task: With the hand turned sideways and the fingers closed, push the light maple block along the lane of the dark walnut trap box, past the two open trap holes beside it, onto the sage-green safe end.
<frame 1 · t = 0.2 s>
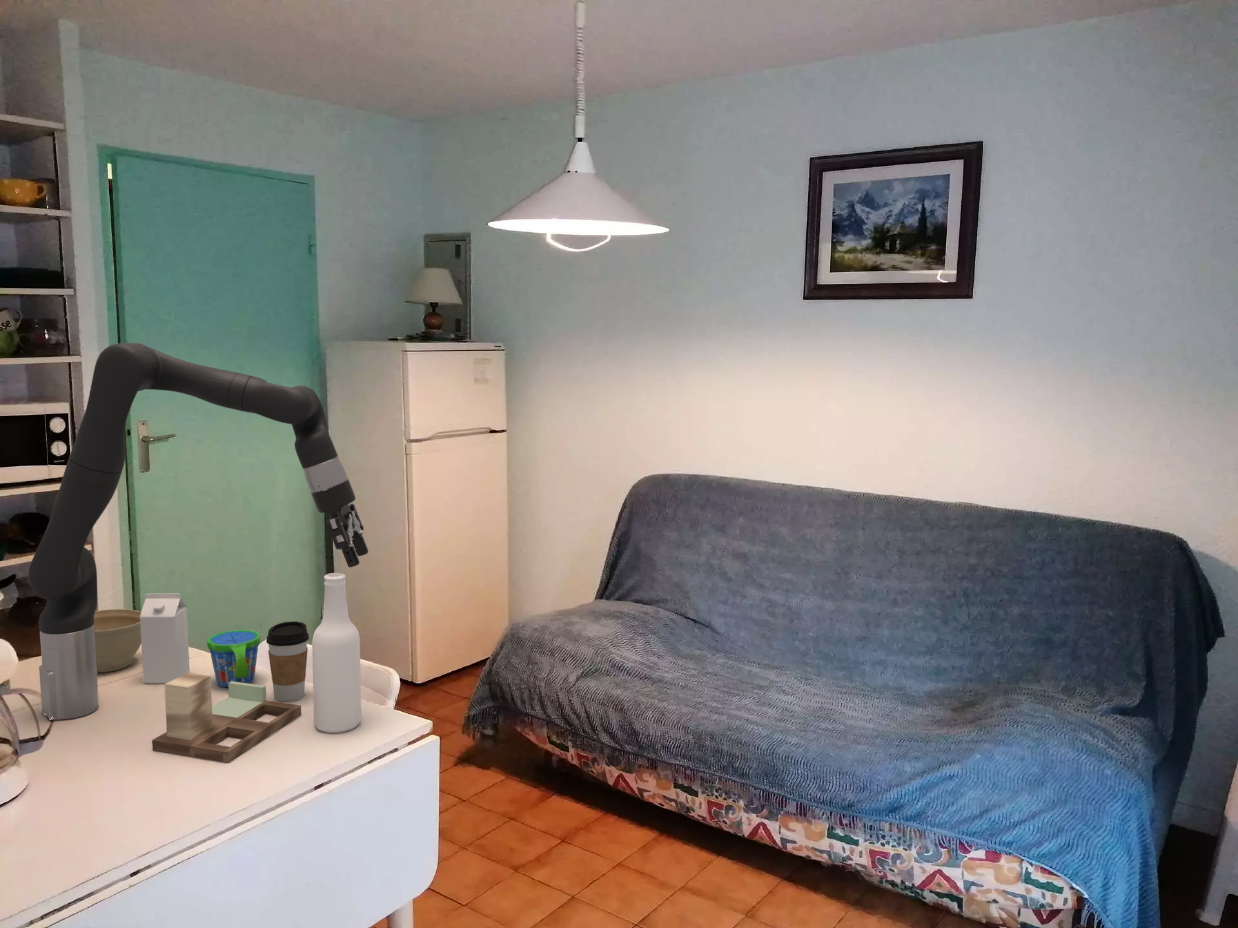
hand: (359, 560, 186), 31 cm above the table, tool tilted 20°, fingers open, 8 cm apart
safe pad: (234, 715, 185), on the table
maple block: (190, 731, 173), point 2 cm above the table, touching trap box
coffee cup: (289, 697, 196), on the table
alcohol: (337, 725, 182), on the table
milk carton: (167, 678, 204), on the table
planter bowl: (108, 666, 210), on the table
trap box: (230, 731, 178), on the table
snack cup: (235, 682, 203), on the table
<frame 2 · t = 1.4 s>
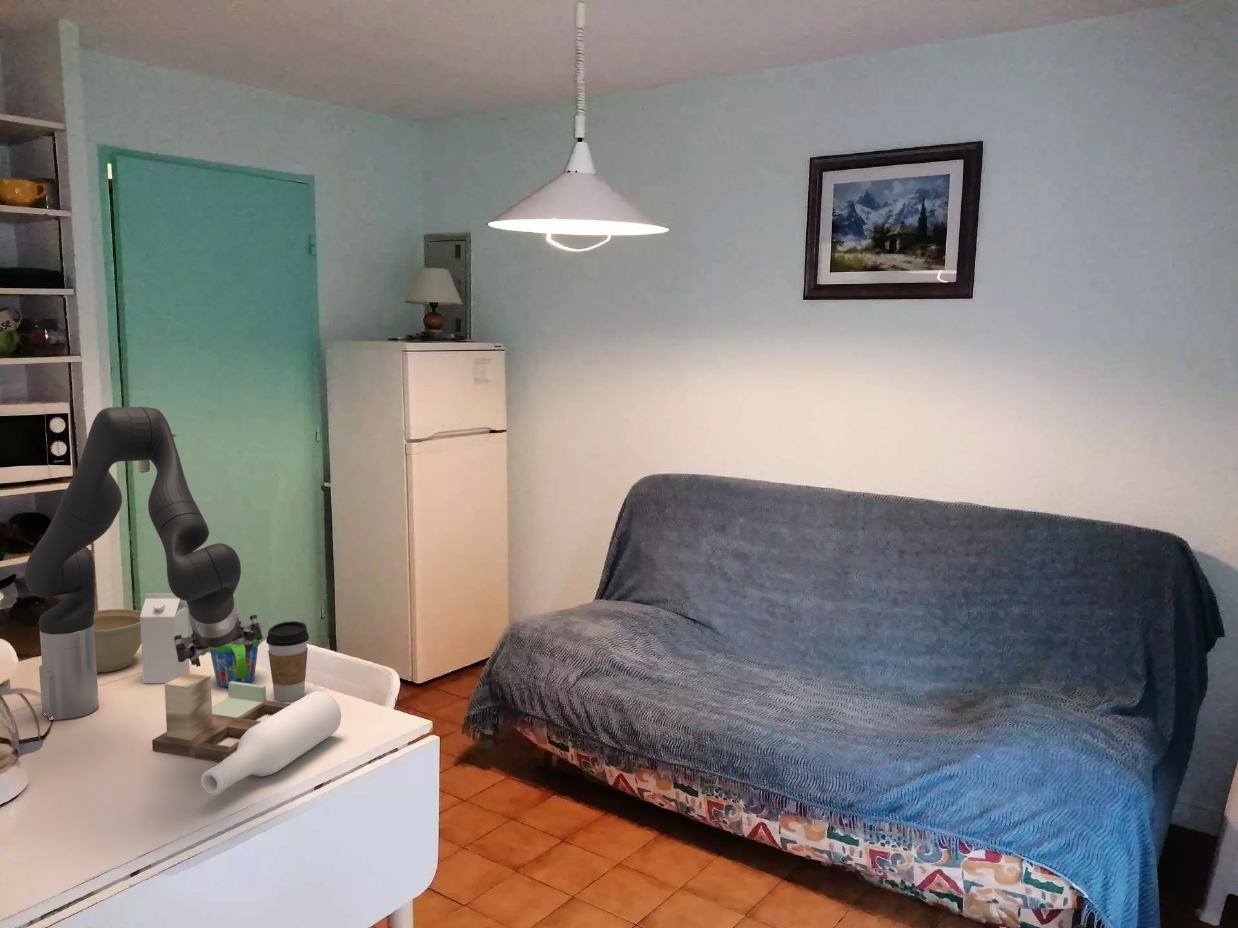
hand: (222, 654, 172), 17 cm above the table, tool tilted 50°, fingers open, 8 cm apart
alcohol: (324, 711, 178), point 4 cm above the table
everything else where it was.
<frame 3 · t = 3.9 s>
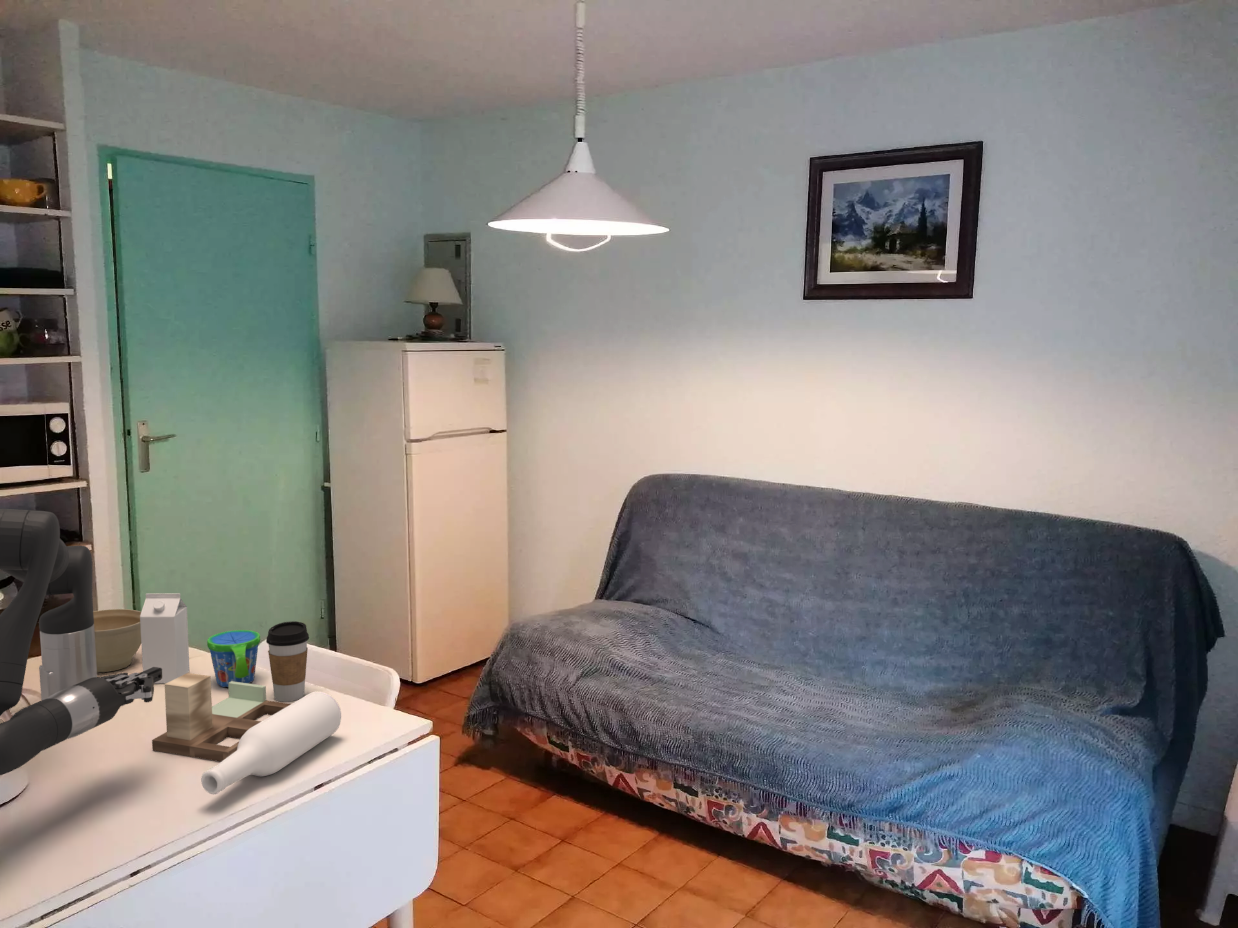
hand: (158, 672, 164), 16 cm above the table, tool horizontal, fingers closed
nothing on the table moved.
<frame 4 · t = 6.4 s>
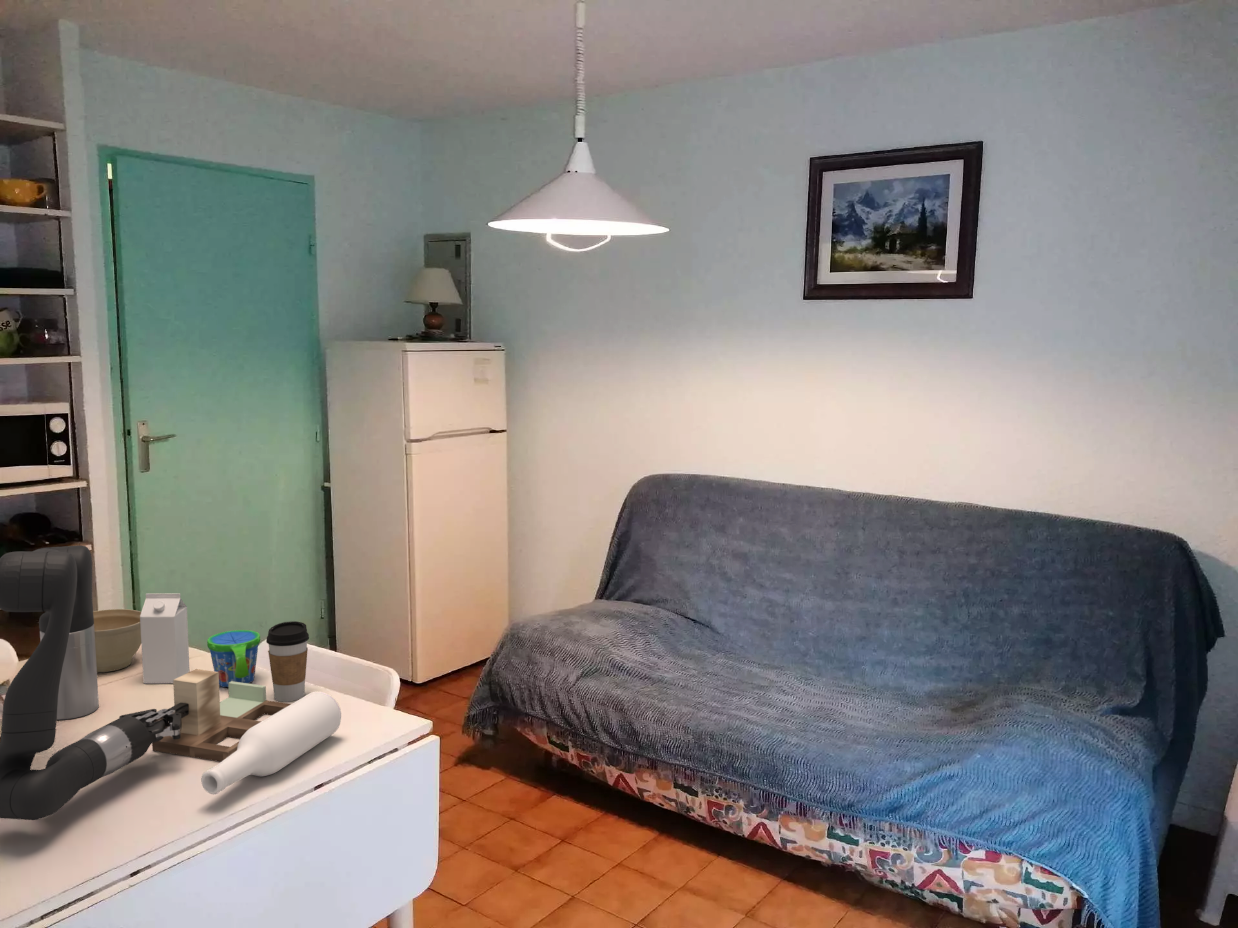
hand: (185, 707, 172), 7 cm above the table, tool horizontal, fingers closed
maple block: (198, 726, 175), point 2 cm above the table, touching gripper, trap box
everything else where it was.
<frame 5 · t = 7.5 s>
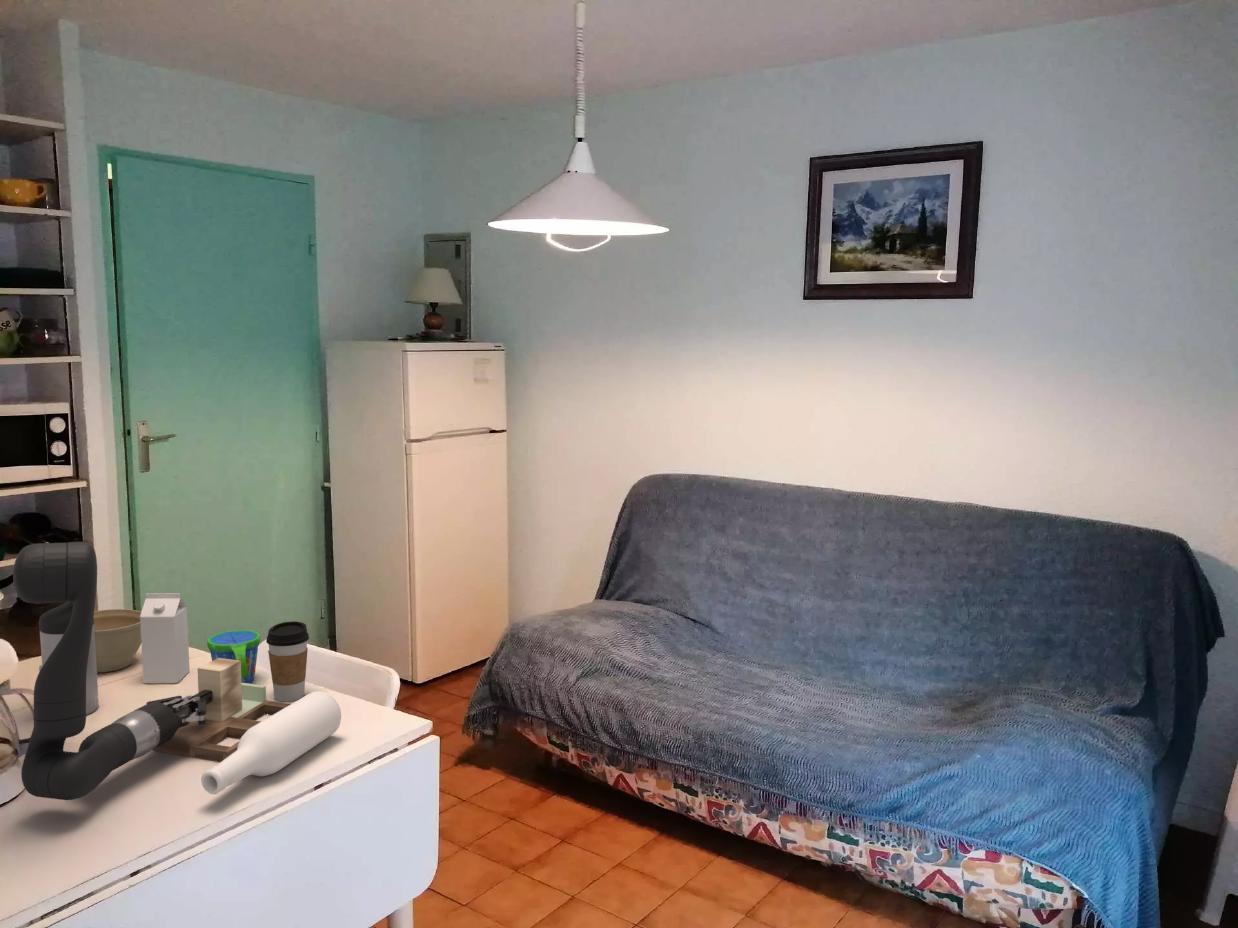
hand: (209, 694, 178), 7 cm above the table, tool horizontal, fingers closed
maple block: (221, 713, 181), point 2 cm above the table, touching gripper
everything else where it was.
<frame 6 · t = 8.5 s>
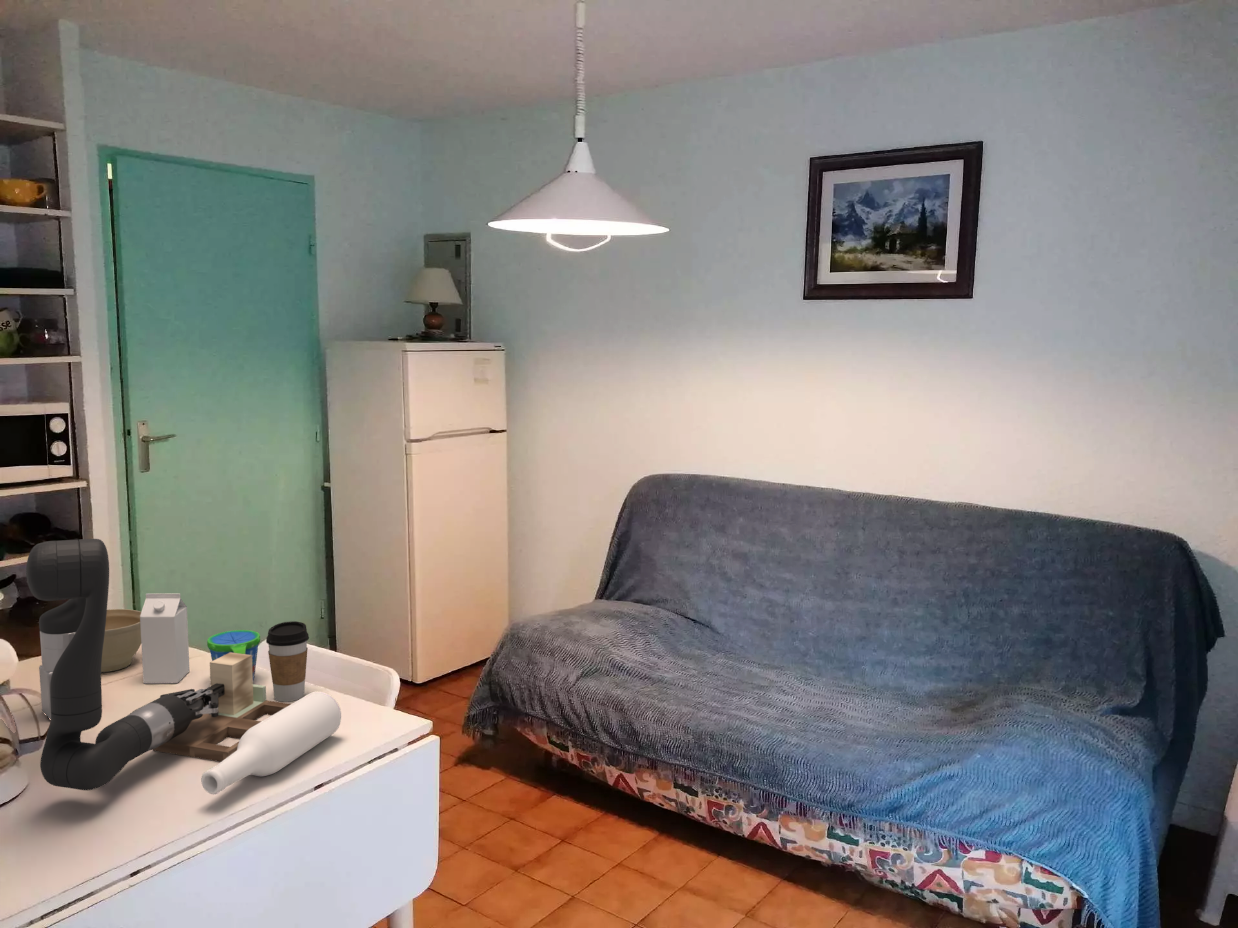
hand: (221, 688, 181), 7 cm above the table, tool horizontal, fingers closed
maple block: (232, 707, 184), point 2 cm above the table, touching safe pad
everything else where it was.
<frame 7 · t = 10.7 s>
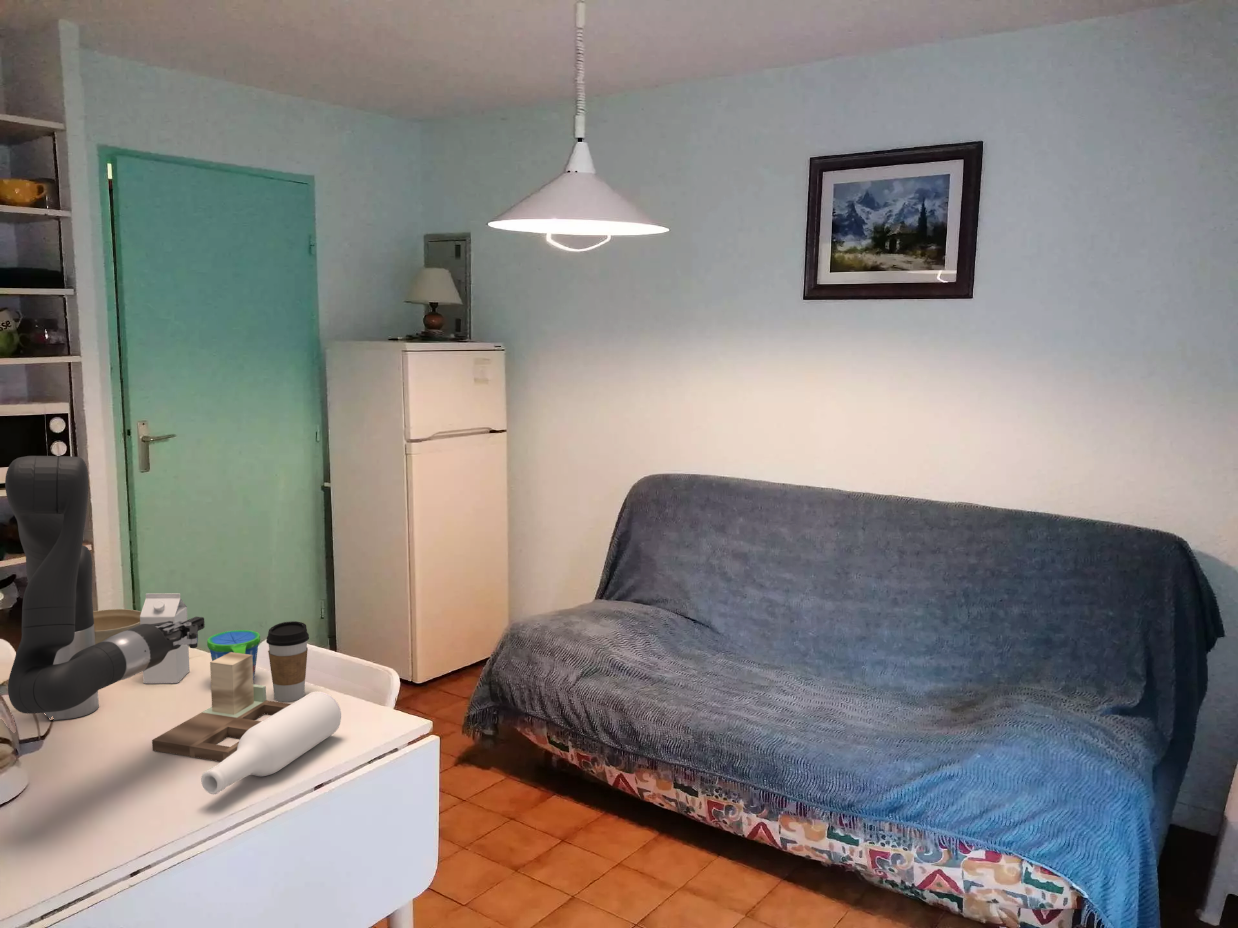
hand: (200, 621, 174), 22 cm above the table, tool horizontal, fingers closed
nothing on the table moved.
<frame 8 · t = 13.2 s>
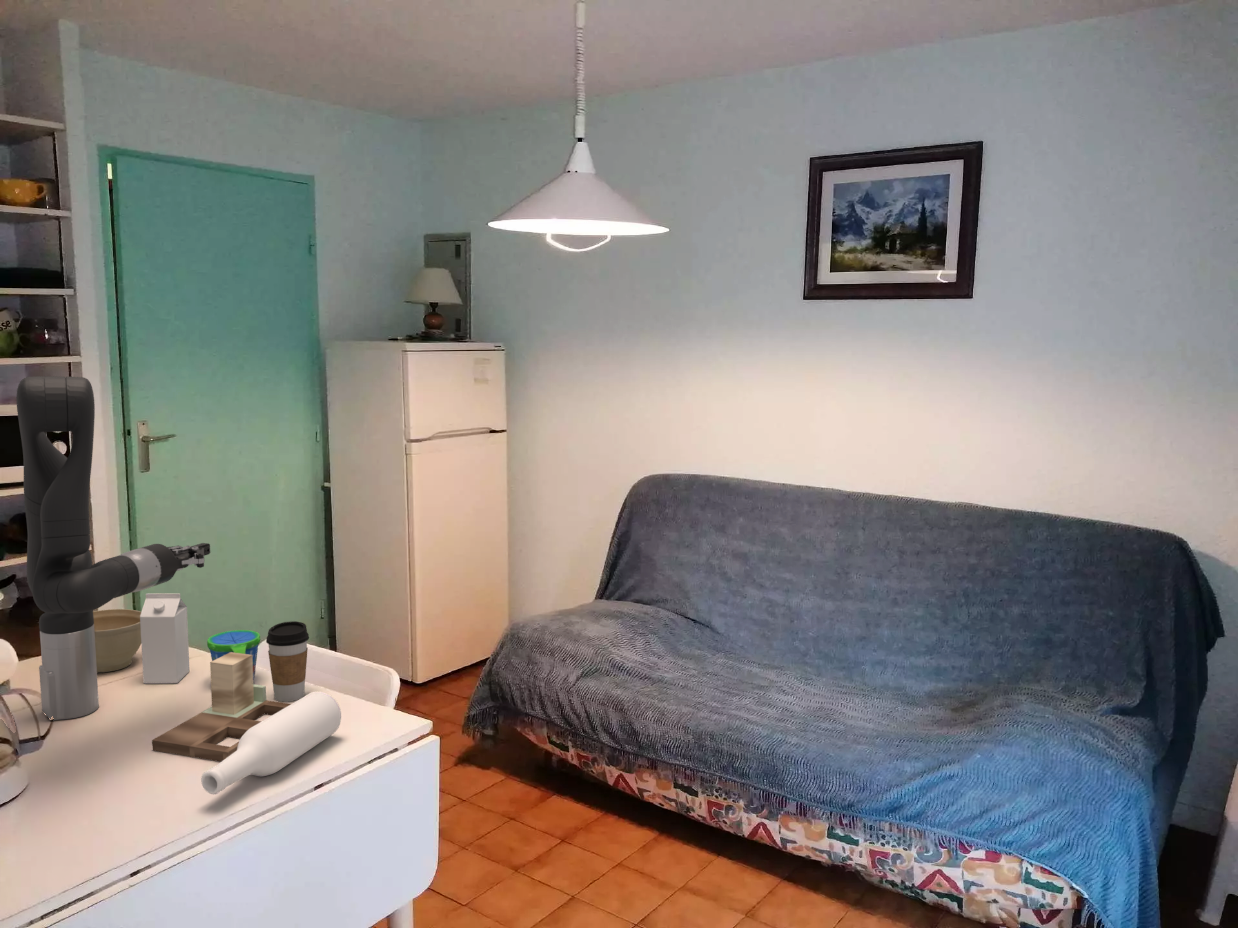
hand: (206, 548, 188), 32 cm above the table, tool horizontal, fingers closed
nothing on the table moved.
at the end: maple block 0.5 cm from the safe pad (horizontally); maple block point 2.0 cm above the table; maple block tilted 0° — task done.
